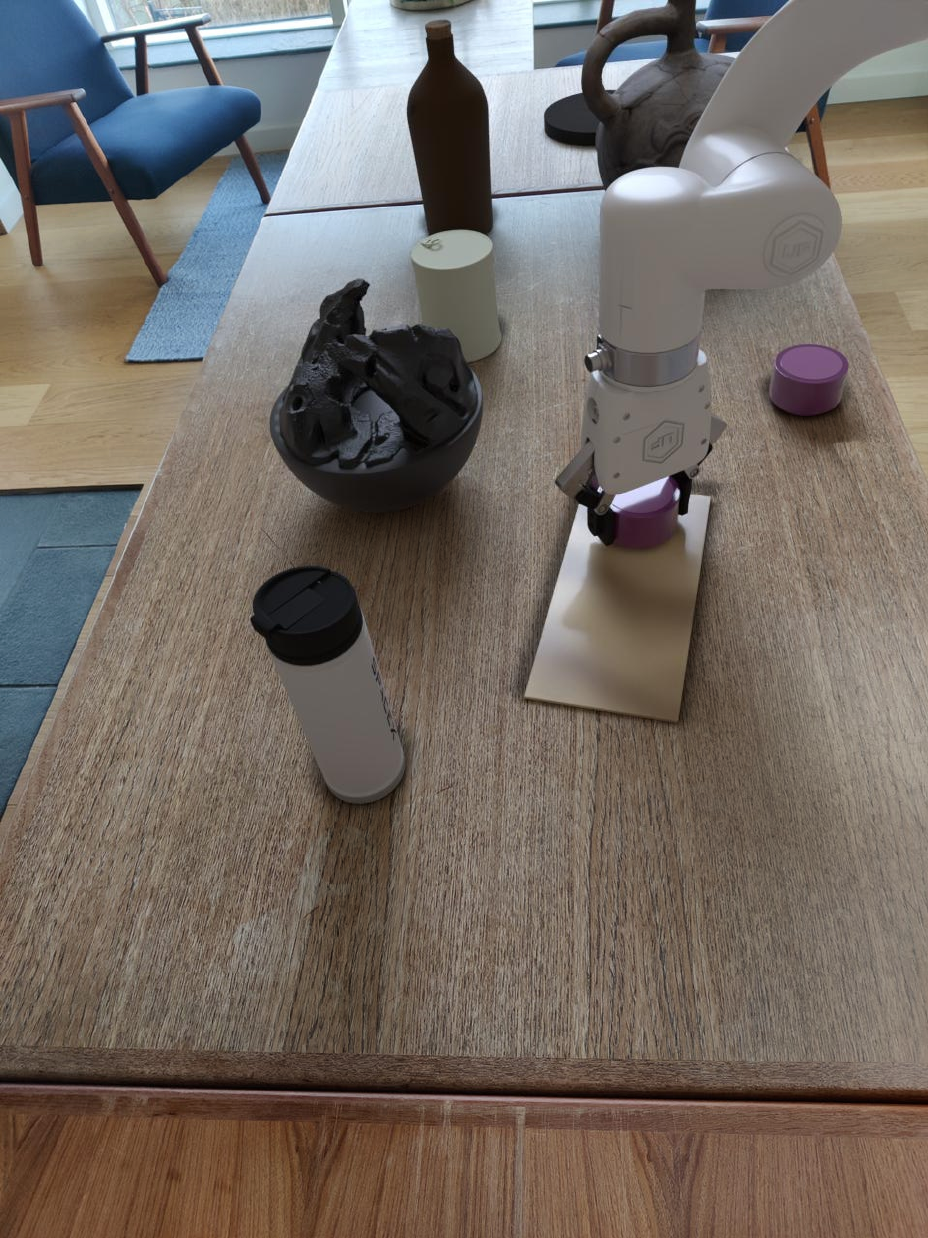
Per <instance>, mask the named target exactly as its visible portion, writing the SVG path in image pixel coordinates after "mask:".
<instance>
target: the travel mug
mask: <svg viewBox="0 0 928 1238" xmlns="http://www.w3.org/2000/svg"><path fill="white" fill-rule="evenodd" d="M252 611H253V615H252V616H251V617H250V619H249V622H250V624H251V626H252V629H253V630H254V631H255V632H256V633H257V634H259V635H260V636H262V637H263V638H264V641H265V645H266V648H267V651H268V652H269V655H270V657H271V660H272V662H273V664H274V666H275V669H276V671H277V674H278V675H279V678H280V680H281V683H282V685H283V687H284V690H285V691H286V694H287V697H288V699H289V701H290V704H291V706H292V709H293V710H294V713H295V715H296V717H297V719H298V722H299V724H300V726H301V727H300V728H301V729H302V731H303V734H304V736H305V739H306V741H307V742H308V745H309V747H310V749H311V752H312V753H313V757H314V759H315V761H316V764H317V766H318V768H319V770H320V773H321V774H322V777H323V779H324V782H325V785H326V786H327V788H328V790H329V792H331V793H332V794H333V796H335V797H336V798H337V799H339V800H341V801H343V802H346V803H350V804H355V805H357V804H358V805H359V804H362V805H363V804H369V803H372V802H376V801H379V800H381V799H382V798H384V797H386V796H388V795H389V794H390V793H392V792H393V791H394V790H395V789H396V787H397V786H398V785H399V784H400V782H401V781H402V779H403V776H404V773H405V770H406V756H405V753H404V750H403V746H402V742H401V739H400V736H399V731H398V729H397V726H396V722H395V718H394V716H393V712H392V709H391V705H390V702H389V697H388V695H387V691H386V688H385V685H384V681H383V677H382V673H381V671H380V667H379V664H378V660H377V657H376V654H375V650H374V647H373V643H372V639H371V636H370V632H369V629H368V626H367V623H366V620H365V619H366V618H365V616H364V613H363V610H362V607H361V606H360V602H359V598H358V594H357V592H356V589H355V588H354V585H353V584H352V583H351V581H350V580H349V578H347V577H346V576H345V575H343V574H341V573H340V572H338V571H332V570H331V568H328V567H325V566H321V565H301V566H296V567H291V568H288V569H285V570H283V571H280V572H278V573H277V574H274V575H273V576H271V577H270V578H268V579H267V580H266V581H264V582H263V584H262V585H260V586H259V588H258V589H257V591H256V593H255V594H254V597H253V599H252Z"/></svg>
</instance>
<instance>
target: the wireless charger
mask: <svg viewBox="0 0 928 1238" xmlns="http://www.w3.org/2000/svg"><path fill="white" fill-rule="evenodd" d="M605 90H606V91H607V92H608V93H609V94H613V93H614V92H615V91H616V90H617V89H605ZM543 123H544V124H543V125H544V127H543V128H544V133H545V134H546V136H547V137H549V138H550V139H552V140H554V141H556V142H559V143H562V144H565V145H570V146H571V145H572V146H578V147H596V144H595V138H596V133H597V129H598V126H599V124H600V121H599V120H598V119H597V118H596V117H595V116H594V114H593V113H592V112H591V111H590V109H589V108H588V106H587V104H586V101H585V99H584V97H583V93H582V92H579V93H573V94H570V95H567V96H565V97H562V98H560V99H558V100H556V101H554V102H553V103H551V104H550V105H549V106H548V107H547V108H546V109H545V110H544V113H543Z"/></svg>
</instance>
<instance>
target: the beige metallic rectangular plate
mask: <svg viewBox="0 0 928 1238" xmlns="http://www.w3.org/2000/svg"><path fill="white" fill-rule="evenodd" d="M583 484H584V485H585V483H583ZM598 492H600V487H599V489H598ZM711 498H712V496H711V495H704V494H703V495H702V494H692V493H691V495H690V498H689V507H688V513H687V514H685V515H683V516H681V515H678V524H677V529H676V531H675V533H674V534H673V535H672V537H671V538H670V539H668V540H667V541H666V542H664V543H662V544H660V545H658V546H655V547H651V548H645V549H633V548H627V547H623V546H620V545H617V544H615V543H612V545H609V546H605V545H604V543H603V542H602V541H601V540H600V539H599V538H598V536H593V535H592V534H591V532H590V531H589V529H588V526H587V507H585V506H583V505H581V504H579V503H578V505H577V508H576V512H575V516H574V519H573V523H572V526H571V530H570V532H569V533H570V534H569V536H568V541H567V544H566V548H565V551H564V555H563V559H562V562H561V565H560V567H559V572H558V576H557V579H556V583H555V587H554V590H553V593H552V597H551V600H550V603H549V606H548V607H549V608H548V610H547V614H546V617H545V621H544V625H543V628H542V632H541V635H540V639H539V641H538V642H539V643H538V646H537V650H536V653H535V655H534V656H535V657H534V660H533V664H532V666H531V671H530V674H529V677H528V681H527V685H526V688H525V692H524V695H523V698H524V699H525V700H532V701H537V702H544V703H550V704H556V705H562V706H569V707H574V708H579V709H580V708H582V709H587V710H593V709H594V711H600V712H605V711H607V712H606V713H611V712H612V714H617V715H624V716H630V717H635V718H636V717H637V718H642V719H643V718H644V719H648V720H649V719H650V720H655V721H661V722H668V723H673V724H678V723H679V719H680V718H679V717H680V712H681V704H682V697H683V692H684V685H685V684H684V683H685V677H686V672H687V671H686V670H687V664H688V656H689V651H690V645H691V638H692V637H691V635H692V630H693V622H694V617H695V610H696V602H697V595H698V589H699V583H700V577H701V576H700V575H701V568H702V562H703V561H702V560H703V554H704V547H705V540H706V534H707V528H708V520H709V513H710V509H711V508H710V507H711V500H712V499H711Z"/></svg>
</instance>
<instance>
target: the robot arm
mask: <svg viewBox="0 0 928 1238" xmlns="http://www.w3.org/2000/svg"><path fill="white" fill-rule="evenodd" d="M925 40H928V0H788V1H787V2H786V3H785V4H783V5H782V7H781V8H780V9H778V10H777V11H776V12H775V13H774V14H773V15H772V16H771V17H770V18H769V19H768V20H767V21H765V23H764V24H762V26H761V27H760V28H759V29H758V30H757V31H756V32H755V34H753V35H752V37H751V38H750V39H749V40H748V41H747V43H746V44H745V45H744V46H743V47H742V49H741V50H740V52H739V53H738V55H737V56H736V57H735V58H736V59H735V60H734V61H733V63H732V64H731V66H730V67H729V69H728V71H727V72H726V74H725V75H724V77H723V79H722V81H721V82H720V84H719V86H718V88H717V89H716V91H715V93H714V95H713V96H712V98H711V100H710V102H709V103H708V105H707V107H706V109H705V111H704V112H703V114H702V116H701V118H700V120H699V121H698V123H697V125H696V127H695V129H694V131H693V133H692V135H691V137H690V139H689V141H688V143H687V145H686V148H685V150H684V153H683V156H682V159H681V162H680V165H679V168H674V167H651V168H644V169H640V170H635V171H632V172H629V173H627V174H625V175H623V176H621V177H619V178H618V179H616V180H615V181H614V182H613V183H612V184H611V185H610V186H609V187H608V189H607V190H606V192H605V191H604V194H603V196H602V199H601V202H600V206H599V208H600V209H599V240H598V241H599V251H598V256H599V257H598V265H599V266H598V334H597V335H596V349H595V350H593V351H592V352H591V353H588V354H586V355H585V356H584V358H583V359H584V360H583V361H584V366H585V368H586V370H587V372H589V373H590V375H589V378H588V383H587V388H586V393H585V397H584V398H585V399H584V403H583V410H582V411H583V412H582V420H581V421H582V422H581V434H580V451H578V453H577V454H576V455H575V456H574V457H573V458H572V460H570V462H569V463H568V464H567V465H566V466H565V468H564V469H563V470H562V471H561V472H560V473H559V474H558V475H557V477H555V480H554V484H555V485H556V487H557V488H558V489H559V490H560V492H561V493H563V495H566V497H569V498H571V499H573V500H574V501H576V502H577V503H578V505H579V504H581V505H583V506H585V507H587V526H588V529H589V531H590V532H591V534H592V535H593V536H598V538H599V539H600V540H601V541H602V542H603V543H604V545H605V546H609V545H612V543H613V542H614V519H615V513H614V511H613V510H612V508H611V507H610V505H611V503H612V501H613V499H614V497H615V496H616V495H618V494H623V493H626V492H629V491H632V490H634V489H637V488H640V487H642V486H645V485H647V484H650V483H653V482H655V481H658V480H660V479H663V478H665V477H668V476H670V475H671V476H672V477H673V478H674V479H675V480H676V481H677V483H678V485H679V487H680V493H681V494H680V504H679V514H678V515H681V516H683V515H685V514H687V513H688V507H689V498H690V495H691V494H692V484H693V479H696V478H698V476H699V475H700V472H701V469H700V466H701V464H702V463H703V462H704V461H705V460H706V459H707V458H708V456H709V455H710V454H711V453H712V451H713V447H714V446H713V445H714V444H716V443H717V441H718V440H719V439H720V437H721V436H722V435H723V434H724V432H725V431H726V430H727V427H728V424H727V423H726V422H725V421H724V420H723V419H722V418H721V417H719V416H718V415H717V414H714V413H712V386H711V376H710V369H709V362H708V358H707V355H706V353H705V351H703V350H702V349H700V345H701V344H700V343H701V336H702V335H701V334H702V327H703V326H702V325H703V318H704V317H703V316H704V307H705V306H704V305H705V297H706V291H707V290H765V289H775V288H780V287H785V286H789V285H793V284H795V283H799V282H800V281H803V280H805V279H806V278H808V277H809V276H811V275H813V274H814V273H815V272H817V271H818V270H819V269H821V267H823V266H824V265H825V264H826V263H827V262H828V260H829V259H830V258H831V257H832V255H833V253H834V252H835V250H836V248H837V246H838V244H839V241H840V238H841V235H842V228H843V217H842V211H841V207H840V204H839V202H838V200H837V198H836V196H835V194H834V192H833V191H832V190H831V188H830V187H828V185H827V184H826V183H825V182H824V181H823V180H822V179H821V178H820V177H819V176H818V175H817V174H815V173H814V172H813V171H812V170H811V169H809V168H807V166H806V165H804V164H803V163H802V161H800V160H799V159H798V158H796V157H795V156H794V155H793V154H792V153H790V152H789V151H788V150H787V149H786V148H787V147H788V145H789V143H790V141H791V140H792V139H793V136H794V135H795V133H796V132H797V131H798V129H799V127H800V126H801V125H802V123H803V121H804V120H805V118H806V117H807V116H808V114H809V113H810V112H811V110H812V109H813V108H814V106H815V105H816V104H817V103H818V101H819V100H820V99H821V98H822V97H823V95H825V94H826V92H827V91H829V89H831V87H832V86H833V85H835V83H837V82H838V81H839V80H840V79H841V78H843V77H844V76H845V75H847V74H848V73H849V72H851V71H852V70H853V69H855V68H856V67H858V66H859V65H861V64H863V63H865V62H867V61H869V60H871V59H873V58H874V57H877V56H879V55H882V54H885V53H887V52H890V51H894V50H897V49H900V48H904V47H906V46H909V45H912V44H916V43H919V42H922V41H925ZM589 472H590V473H589ZM588 474H589V475H588ZM587 475H588V477H587V479H586V482H585V483H582V480H583V479H584V478H585V477H586V476H587ZM584 484H585V485H584ZM599 487H601V488H602V489H603V490H602V492H601V493H600V492H598V489H599Z"/></svg>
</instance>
